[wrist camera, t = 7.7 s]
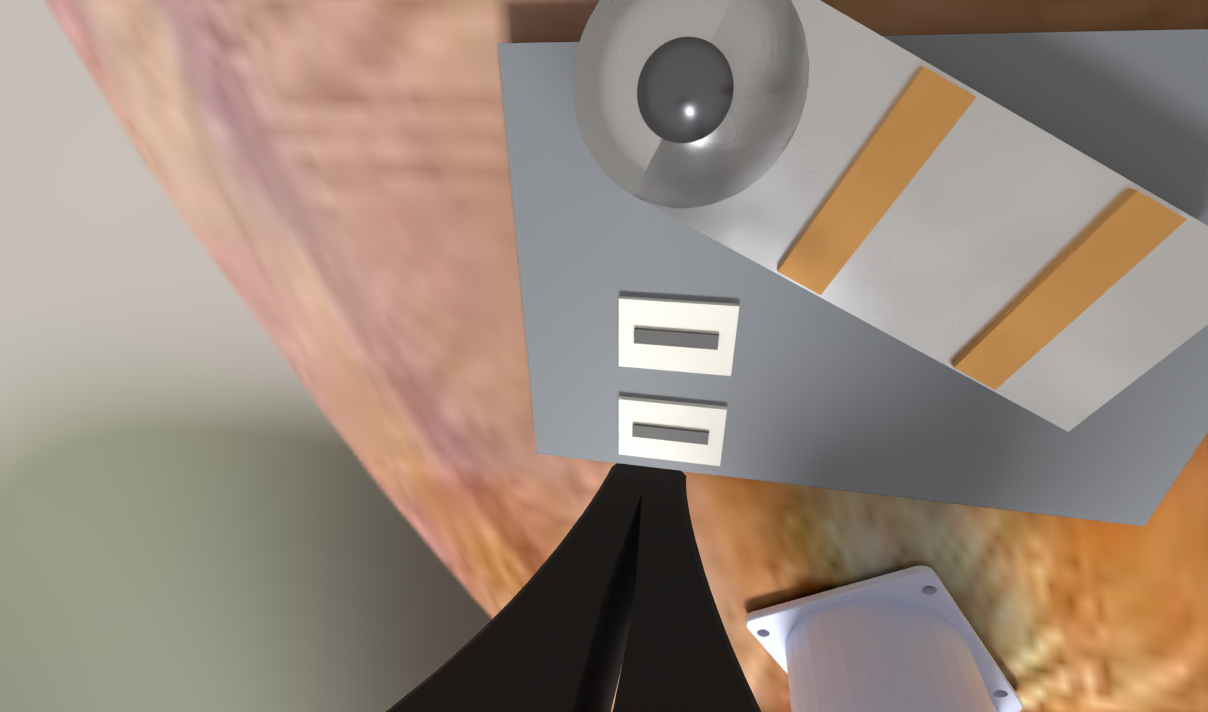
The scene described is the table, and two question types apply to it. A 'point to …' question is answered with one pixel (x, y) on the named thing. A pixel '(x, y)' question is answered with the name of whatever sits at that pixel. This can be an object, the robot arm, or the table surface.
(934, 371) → the label board
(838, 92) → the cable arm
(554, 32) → the table surface
